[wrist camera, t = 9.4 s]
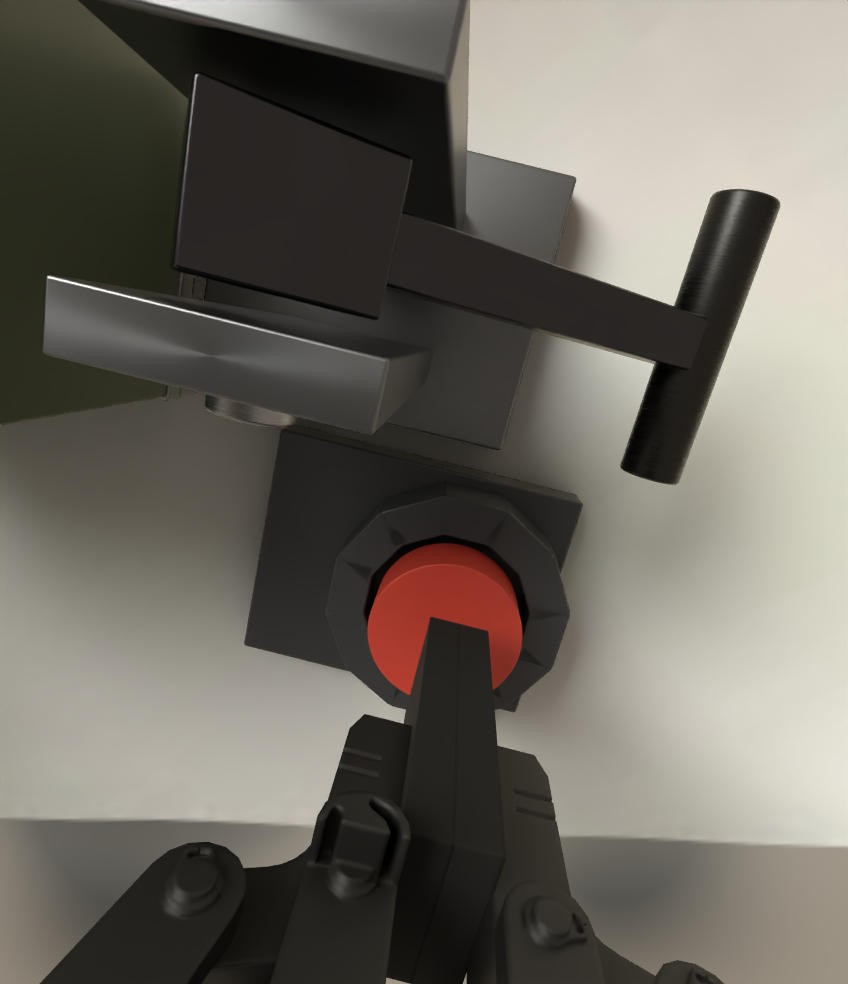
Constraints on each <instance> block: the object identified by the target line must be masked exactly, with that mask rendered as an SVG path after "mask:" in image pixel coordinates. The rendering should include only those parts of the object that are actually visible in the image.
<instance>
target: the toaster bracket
mask: <svg viewBox="0 0 848 984" xmlns="http://www.w3.org/2000/svg"><path fill="white" fill-rule="evenodd" d="M78 1H79V2H80V3H81V4H82V5H83V6H85V7H86V8H87V9H88V10H89V11H90V12H91V13H92V14H93V15H95V16H96V17H97V18H98V19H99V20H100V21H101V22H102V23H104V24H105V25H106V26H107V27H108V28H109V29H110V30H111V31H112V32H114V33H115V34H116V35H117V36H118V37H119V38H120V39H121V40H123V41H124V42H125V43H126V44H127V45H128V46H129V47H130V48H131V49H133V50H134V51H135V52H136V53H137V54H138V55H139V56H140V57H142V58H143V59H144V60H145V61H146V62H147V63H148V64H149V65H150V66H152V67H153V68H154V69H155V70H156V71H157V72H158V73H159V74H161V75H162V76H163V77H164V78H165V79H166V80H167V81H168V82H169V83H171V84H172V85H173V86H174V87H175V88H176V89H177V90H178V91H179V92H181V93H182V94H183V95H184V96H185V97H186V98H187V99H188V100H189V94H190V89H191V83H192V77H193V75H194V74H195V72H202V73H205V74H207V75H210V76H212V77H215V78H217V79H220V80H222V81H225V82H227V83H230V84H232V85H235V86H237V87H240V88H242V89H245V90H247V91H250V92H252V93H255V94H257V95H260V96H262V97H265V98H267V99H269V100H272V101H274V102H277V103H279V104H282V105H284V106H287V107H289V108H292V109H294V110H297V111H299V112H302V113H304V114H307V115H309V116H312V117H314V118H317V119H319V120H322V121H324V122H327V123H329V124H332V125H334V126H337V127H339V128H342V129H344V130H346V131H349V132H351V133H354V134H356V135H359V136H361V137H364V138H366V139H369V140H371V141H374V142H376V143H379V144H381V145H384V146H386V147H389V148H391V149H394V150H396V151H399V152H401V153H404V154H406V155H408V156H409V157H411V158H412V167H411V172H410V177H409V182H408V186H407V191H406V196H405V201H404V206H403V210H402V211H404V212H407V213H410V214H412V215H415V216H418V217H421V218H424V219H427V220H429V221H432V222H435V223H438V224H441V225H444V226H447V227H449V228H452V229H455V230H458V231H461V232H464V233H466V234H469V235H472V236H475V237H478V238H481V239H484V240H486V241H489V242H492V243H495V244H498V245H501V246H503V247H506V248H509V249H512V250H515V251H518V252H520V253H523V254H526V255H529V256H532V257H535V258H538V259H540V260H543V261H546V262H549V263H552V264H553V262H554V259H555V255H556V252H557V248H558V244H559V241H560V237H561V234H562V230H563V226H564V223H565V219H566V216H567V212H568V209H569V205H570V201H571V198H572V194H573V191H574V187H575V183H576V177H574V176H570V175H566V174H562V173H557V172H553V171H549V170H545V169H541V168H537V167H533V166H529V165H525V164H521V163H517V162H513V161H508V160H504V159H500V158H496V157H492V156H488V155H484V154H480V153H476V152H472V151H468V150H467V125H468V75H469V25H470V0H78ZM533 334H534V330H530V329H526V328H523V327H519V326H516V325H512V324H508V323H505V322H501V321H498V320H494V319H491V318H487V317H483V316H480V315H476V314H473V313H469V312H465V311H462V310H458V309H455V308H451V307H447V306H444V305H440V304H437V303H433V302H430V301H426V300H422V299H419V298H415V297H412V296H408V295H404V294H401V293H397V292H394V291H390V290H386V292H385V297H384V302H383V307H382V312H381V316H380V318H379V319H378V320H371V319H367V318H363V317H358V316H354V315H350V314H345V313H341V312H337V311H332V310H328V309H324V308H320V307H316V306H312V305H308V304H304V303H300V302H296V301H292V300H288V299H284V298H280V297H276V296H272V295H268V294H264V293H260V292H256V291H252V290H248V289H244V288H240V287H236V286H232V285H228V284H224V283H220V282H216V281H212V280H208V279H207V281H206V289H205V296H204V301H203V300H197V299H191V298H185V297H180V296H174V295H168V294H162V293H156V292H151V291H145V290H139V289H133V288H127V287H122V286H116V285H110V284H104V283H99V282H93V281H87V280H81V279H75V278H70V277H64V276H58V275H52V274H51V275H47V277H46V284H45V301H44V319H43V337H42V352H43V353H44V354H46V355H49V356H53V357H57V358H61V359H65V360H69V361H73V362H78V363H82V364H86V365H90V366H94V367H98V368H102V369H106V370H110V371H114V372H118V373H122V374H126V375H130V376H134V377H138V378H142V379H146V380H150V381H154V382H158V383H162V384H166V385H170V386H174V387H179V388H183V389H187V390H191V391H195V392H199V393H203V394H206V402H205V406H206V409H207V410H208V411H209V412H211V413H213V414H215V415H217V416H220V417H222V418H225V419H229V420H232V421H236V422H241V423H245V424H251V425H257V426H265V427H287V426H292V425H293V424H294V423H295V421H296V417H300V418H304V419H308V420H312V421H316V422H320V423H324V424H328V425H332V426H336V427H340V428H344V429H348V430H352V431H356V432H360V433H364V434H368V435H371V434H374V433H375V432H376V431H377V430H378V429H379V428H380V427H381V426H382V425H383V424H384V423H385V422H386V423H390V424H394V425H398V426H402V427H406V428H410V429H414V430H418V431H422V432H426V433H430V434H434V435H438V436H442V437H446V438H450V439H454V440H458V441H462V442H466V443H471V444H475V445H479V446H483V447H487V448H491V449H495V450H501V449H502V446H503V442H504V438H505V435H506V431H507V428H508V424H509V420H510V417H511V413H512V410H513V406H514V402H515V399H516V395H517V392H518V388H519V385H520V381H521V377H522V374H523V370H524V367H525V363H526V359H527V356H528V352H529V349H530V345H531V341H532V338H533Z"/></svg>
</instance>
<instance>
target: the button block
mask: <svg viewBox="0 0 848 984" xmlns="http://www.w3.org/2000/svg"><path fill="white" fill-rule="evenodd" d="M582 507H583V504H582V503H581V501H580V500H579V499H578V497H577V496H576V495H575V494H571V493H567V492H562V491H558V490H554V489H550V488H546V487H542V486H538V485H534V484H530V483H526V482H522V481H518V480H514V479H510V478H506V477H502V476H498V475H494V474H490V473H486V472H482V471H478V470H474V469H470V468H466V467H462V466H457V465H453V464H449V463H445V462H441V461H437V460H433V459H429V458H425V457H421V456H417V455H413V454H409V453H405V452H401V451H397V450H393V449H389V448H385V447H381V446H377V445H373V444H369V443H365V442H361V441H356V440H352V439H348V438H344V437H340V436H336V435H332V434H328V433H324V432H320V431H316V430H312V429H308V428H304V427H300V426H296V425H292V426H288V427H286V428H284V429H282V430H281V432H280V438H279V444H278V450H277V455H276V461H275V467H274V473H273V479H272V484H271V490H270V496H269V502H268V508H267V514H266V519H265V525H264V531H263V537H262V543H261V549H260V554H259V560H258V566H257V572H256V578H255V583H254V589H253V595H252V601H251V607H250V613H249V618H248V624H247V630H246V636H245V642H244V644H245V645H246V646H250V647H254V648H258V649H262V650H266V651H270V652H274V653H278V654H282V655H286V656H290V657H294V658H298V659H302V660H306V661H310V662H314V663H318V664H322V665H326V666H330V667H334V668H338V669H342V670H346V671H350V672H352V673H353V674H354V675H355V676H356V677H357V678H359V679H360V680H361V681H362V682H363V683H364V684H365V685H367V686H368V687H369V688H370V689H371V690H372V691H374V692H375V693H376V694H377V695H378V696H379V697H381V698H382V699H383V700H384V701H385V702H386V703H388V704H390V705H391V706H394V707H398V708H402V709H406V707H407V704H408V700H409V696H410V695H408V694H406V693H404V692H403V691H401V690H400V689H398V688H397V687H396V686H394V685H393V684H392V683H391V682H390V681H389V680H388V679H387V678H386V677H385V676H384V675H383V673H382V672H381V671H380V670H379V668H378V666H377V664H376V663H375V661H374V659H373V656H372V654H371V651H370V647H369V643H368V621H369V616H370V613H371V609H372V606H373V604H374V601H375V598H376V595H377V592H378V589H379V586H380V584H381V582H382V580H383V577H384V576H385V574H386V573H387V571H388V570H389V569H390V567H391V566H392V565H393V564H394V563H395V562H396V561H397V560H399V559H400V558H401V557H402V556H404V555H405V554H407V553H409V552H411V551H413V550H415V549H417V548H420V547H423V546H426V545H431V544H438V543H453V544H459V545H464V546H467V547H471V548H473V549H476V550H478V551H480V552H482V553H483V554H485V555H487V556H488V557H490V558H491V559H492V560H493V561H495V562H496V563H497V564H498V565H499V566H500V567H501V568H502V569H503V571H504V572H505V574H506V575H507V576H508V578H509V580H510V582H511V584H512V586H513V589H514V592H515V596H516V600H517V605H518V610H519V615H520V619H521V624H522V635H523V637H522V647H521V651H520V655H519V657H518V660H517V662H516V664H515V666H514V668H513V670H512V671H511V673H510V674H509V675H508V676H507V678H506V679H505V680H504V681H503V682H502V683H501V684H500V685H499V686H498V687H496V688H495V689H494V690H493V696H494V709H495V710H496V709H503V710H507V711H511V712H515V711H516V709H517V706H518V703H519V700H520V697H521V695H522V694H523V693H524V692H525V691H526V690H527V689H529V688H530V687H531V686H532V685H533V684H535V683H536V682H537V681H538V680H539V679H540V678H542V677H543V676H544V675H545V674H546V673H548V672H549V671H550V669H552V667H553V664H554V661H555V658H556V655H557V652H558V649H559V646H560V643H561V640H562V638H563V635H564V632H565V629H566V626H567V623H568V620H569V617H570V610H569V606H568V602H567V599H566V595H565V591H564V587H563V583H562V579H561V575H560V574H561V571H562V568H563V565H564V562H565V559H566V556H567V553H568V549H569V546H570V543H571V540H572V537H573V534H574V531H575V528H576V525H577V522H578V519H579V516H580V513H581V510H582Z"/></svg>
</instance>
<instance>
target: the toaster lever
mask: <svg viewBox="0 0 848 984" xmlns="http://www.w3.org/2000/svg"><path fill="white" fill-rule="evenodd" d="M411 167H412V158H411V157H409V156H408V155H406V154H404V153H401V152H399V151H396V150H394V149H391V148H389V147H386V146H384V145H381V144H379V143H376V142H374V141H371V140H369V139H366V138H364V137H361V136H359V135H356V134H354V133H351V132H349V131H346V130H344V129H342V128H339V127H337V126H334V125H332V124H329V123H327V122H324V121H322V120H319V119H317V118H314V117H312V116H309V115H307V114H304V113H302V112H299V111H297V110H294V109H292V108H289V107H287V106H284V105H282V104H279V103H277V102H274V101H272V100H269V99H267V98H265V97H262V96H260V95H257V94H255V93H252V92H250V91H247V90H245V89H242V88H240V87H237V86H235V85H232V84H230V83H227V82H225V81H222V80H220V79H217V78H215V77H212V76H210V75H207V74H205V73H202V72H195V74H194V75H193V77H192V83H191V89H190V94H189V100H188V106H187V112H186V118H185V125H184V134H183V143H182V152H181V161H180V170H179V179H178V188H177V197H176V206H175V215H174V224H173V233H172V242H171V252H170V261H169V266H170V269H172V270H173V271H176V272H180V273H184V274H188V275H192V276H196V277H200V278H204V279H208V280H212V281H216V282H220V283H224V284H228V285H232V286H236V287H240V288H244V289H248V290H252V291H256V292H260V293H264V294H268V295H272V296H276V297H280V298H284V299H288V300H292V301H296V302H300V303H304V304H308V305H312V306H316V307H320V308H324V309H328V310H332V311H337V312H341V313H345V314H350V315H354V316H358V317H363V318H367V319H371V320H378V319H379V318H380V316H381V312H382V307H383V302H384V297H385V292H386V290H390V291H394V292H397V293H401V294H404V295H408V296H412V297H415V298H419V299H422V300H426V301H430V302H433V303H437V304H440V305H444V306H447V307H451V308H455V309H458V310H462V311H465V312H469V313H473V314H476V315H480V316H483V317H487V318H491V319H494V320H498V321H501V322H505V323H508V324H512V325H516V326H519V327H523V328H526V329H530V330H534V331H537V332H541V333H544V334H548V335H552V336H555V337H559V338H562V339H566V340H570V341H573V342H577V343H580V344H584V345H587V346H591V347H595V348H598V349H602V350H605V351H609V352H613V353H616V354H620V355H623V356H627V357H631V358H634V359H638V360H641V361H645V362H648V363H652V364H654V367H653V370H652V373H651V376H650V379H649V382H648V385H647V388H646V391H645V394H644V397H643V400H642V403H641V406H640V409H639V412H638V415H637V418H636V420H635V423H634V426H633V429H632V432H631V435H630V438H629V441H628V444H627V447H626V450H625V453H624V456H623V459H622V462H621V469H623V470H624V471H626V472H628V473H630V474H633V475H635V476H638V477H641V478H644V479H647V480H651V481H654V482H658V483H663V484H669V485H676V484H677V483H678V482H679V480H680V477H681V475H682V472H683V469H684V466H685V464H686V461H687V458H688V456H689V453H690V450H691V447H692V445H693V442H694V439H695V437H696V434H697V431H698V428H699V426H700V423H701V420H702V418H703V415H704V412H705V409H706V407H707V404H708V401H709V399H710V396H711V393H712V390H713V388H714V385H715V382H716V380H717V377H718V374H719V371H720V369H721V366H722V363H723V361H724V358H725V355H726V352H727V350H728V347H729V344H730V342H731V339H732V336H733V333H734V331H735V328H736V325H737V323H738V320H739V317H740V314H741V312H742V309H743V306H744V304H745V301H746V298H747V295H748V293H749V290H750V287H751V285H752V282H753V279H754V276H755V274H756V271H757V268H758V266H759V263H760V260H761V258H762V255H763V252H764V249H765V247H766V244H767V241H768V239H769V236H770V233H771V230H772V228H773V225H774V222H775V220H776V217H777V214H778V211H779V209H780V202H779V200H778V199H776V198H775V197H773V196H771V195H768V194H766V193H762V192H758V191H753V190H744V189H730V190H723V191H719V192H716V193H714V194H713V196H712V197H711V198H710V201H709V204H708V207H707V210H706V213H705V216H704V219H703V222H702V225H701V228H700V231H699V234H698V237H697V240H696V243H695V246H694V249H693V252H692V255H691V258H690V261H689V263H688V266H687V269H686V272H685V275H684V278H683V281H682V284H681V287H680V290H679V293H678V296H677V299H676V302H675V305H674V306H671V305H668V304H666V303H663V302H660V301H657V300H654V299H651V298H648V297H646V296H643V295H640V294H637V293H634V292H631V291H629V290H626V289H623V288H620V287H617V286H614V285H611V284H609V283H606V282H603V281H600V280H597V279H594V278H592V277H589V276H586V275H583V274H580V273H577V272H575V271H572V270H569V269H566V268H563V267H560V266H557V265H555V264H552V263H549V262H546V261H543V260H540V259H538V258H535V257H532V256H529V255H526V254H523V253H520V252H518V251H515V250H512V249H509V248H506V247H503V246H501V245H498V244H495V243H492V242H489V241H486V240H484V239H481V238H478V237H475V236H472V235H469V234H466V233H464V232H461V231H458V230H455V229H452V228H449V227H447V226H444V225H441V224H438V223H435V222H432V221H429V220H427V219H424V218H421V217H418V216H415V215H412V214H410V213H407V212H404V211H402V210H403V206H404V201H405V196H406V191H407V186H408V182H409V177H410V172H411Z"/></svg>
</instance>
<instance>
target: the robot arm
mask: <svg viewBox="0 0 848 984" xmlns="http://www.w3.org/2000/svg"><path fill="white" fill-rule="evenodd" d="M555 817H556V816H555V811H554V806H553V803H552V795H551V790H550V785H549V780H548V776H547V774H546V773H545V771H544V770H543V768H542V767H541V765H540V763H539V762H538V760H537V759H536V757H535V756H534V755H532V754H528V753H524V752H520V751H516V750H512V749H508V748H504V747H500V746H497V734H496V721H495V709H494V696H493V684H492V671H491V658H490V646H489V633H488V631H486V630H482V629H479V628H475V627H471V626H467V625H463V624H459V623H455V622H451V621H447V620H443V619H439V618H435V617H430V621H429V625H428V628H427V632H426V636H425V640H424V643H423V647H422V651H421V655H420V658H419V662H418V666H417V670H416V673H415V677H414V681H413V685H412V689H411V692H410V696H409V700H408V704H407V707H406V713H405V720H404V724H402V723H398V722H394V721H390V720H386V719H382V718H378V717H374V716H370V715H366V714H364V715H363V716H362V717H361V718H360V719H359V720H358V721H357V722H356V723H355V724H354V725H353V726H352V727H351V728H350V729H349V733H348V736H347V739H346V742H345V746H344V749H343V752H342V756H341V759H340V762H339V766H338V769H337V772H336V775H335V779H334V782H333V785H332V789H331V792H330V795H329V798H328V801H327V802H325V804H324V806H323V808H322V809H321V811H320V813H319V814H318V816H317V821H316V825H315V830H314V834H313V838H312V843H311V845H310V846H309V847H308V849H307V850H306V851H305V852H303V853H302V854H300V855H299V856H298V857H296V858H295V859H293V860H291V861H288V862H286V863H283V864H280V865H274V866H269V867H257V868H243V866H242V864H241V862H240V860H239V858H238V857H237V856H236V855H235V854H233V853H232V852H231V851H229V849H227V848H226V847H223V846H220V845H217V844H213V843H210V842H199V843H187V844H185V845H182V846H179V847H177V848H174V849H172V850H169V851H168V852H166V853H165V854H164V855H163V856H161V857H160V858H159V859H157V860H156V861H155V862H154V863H152V864H151V865H150V866H149V868H148V869H147V870H146V871H145V872H144V873H143V874H142V875H141V876H140V877H139V878H138V879H137V880H136V881H135V883H134V884H133V885H132V886H131V887H130V888H129V889H128V890H127V891H126V892H125V893H124V894H123V895H122V897H121V898H120V899H119V900H118V901H117V902H116V903H115V904H114V905H113V906H112V907H111V908H110V909H109V910H108V911H107V912H106V914H105V915H104V916H103V917H102V918H101V919H100V920H99V921H98V922H97V923H96V924H95V925H94V926H93V927H92V929H91V930H90V931H89V932H88V933H87V934H86V935H85V936H84V937H83V938H82V939H81V940H80V941H79V942H78V943H77V945H76V946H75V947H74V948H73V949H72V950H71V951H70V952H69V953H68V954H67V955H66V956H65V957H64V959H63V960H62V961H61V962H60V963H59V964H58V965H57V966H56V967H55V968H54V969H53V970H52V971H51V972H50V974H48V976H47V977H46V978H45V979H44V980H43V981H42V982H41V983H40V984H385V983H386V977H387V978H391V979H395V980H398V981H402V982H406V983H410V984H463V981H464V978H465V975H466V972H467V984H724V983H723V982H722V981H720V980H719V979H718V978H717V977H716V976H715V975H713V974H711V973H710V972H708V971H706V970H704V969H703V968H701V967H699V966H698V965H696V964H692V963H687V962H683V961H678V960H677V961H673V962H670V963H666V964H663V966H662V967H661V969H660V971H659V972H658V974H657V975H656V976H654V975H652V974H650V973H649V972H647V971H646V970H644V969H642V968H640V967H639V966H637V965H635V964H634V963H632V962H630V961H629V960H627V959H625V958H624V957H622V956H620V955H618V954H617V953H616V952H614V951H613V950H611V949H610V948H608V947H607V946H606V945H604V944H603V943H602V942H601V941H600V940H599V939H598V938H597V937H596V936H595V934H594V931H593V929H592V926H591V924H590V921H589V918H588V916H587V915H586V914H585V913H584V911H583V910H582V908H581V907H580V906H579V904H578V903H577V902H576V900H574V899H573V898H572V897H571V894H570V890H569V885H568V879H567V874H566V869H565V863H564V858H563V853H562V848H561V843H560V837H559V832H558V827H557V822H556V821H555Z"/></svg>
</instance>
